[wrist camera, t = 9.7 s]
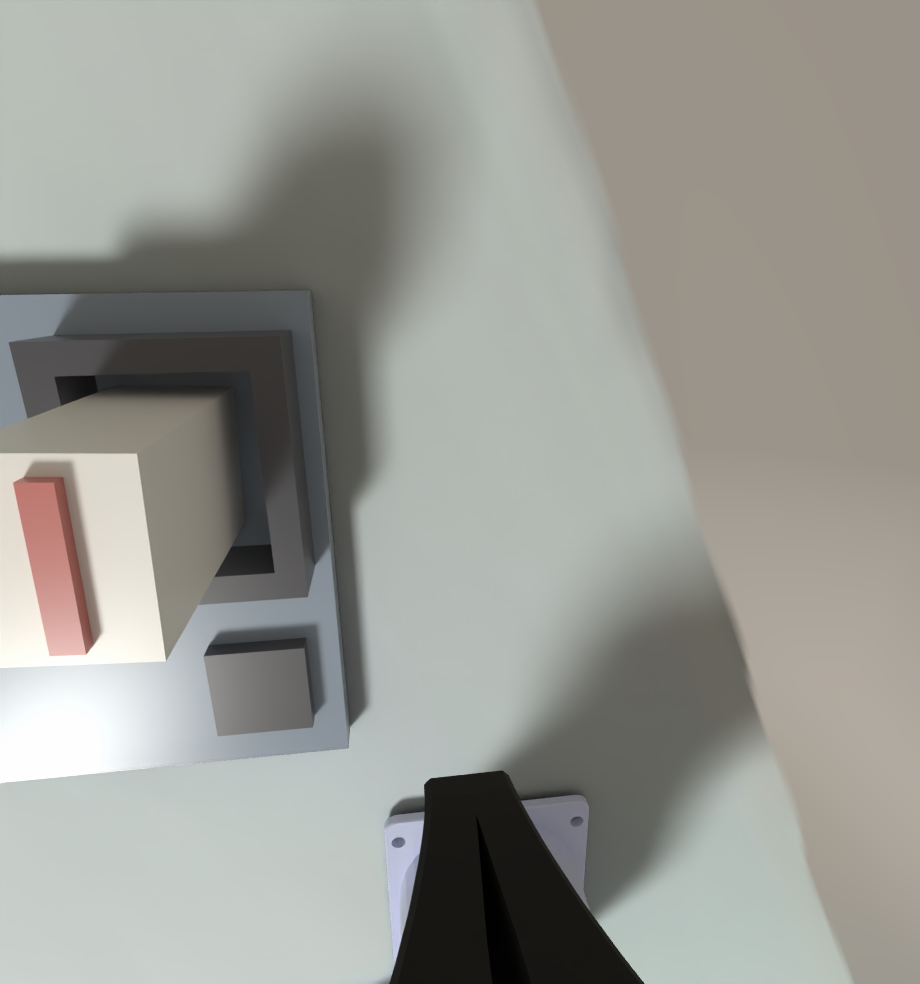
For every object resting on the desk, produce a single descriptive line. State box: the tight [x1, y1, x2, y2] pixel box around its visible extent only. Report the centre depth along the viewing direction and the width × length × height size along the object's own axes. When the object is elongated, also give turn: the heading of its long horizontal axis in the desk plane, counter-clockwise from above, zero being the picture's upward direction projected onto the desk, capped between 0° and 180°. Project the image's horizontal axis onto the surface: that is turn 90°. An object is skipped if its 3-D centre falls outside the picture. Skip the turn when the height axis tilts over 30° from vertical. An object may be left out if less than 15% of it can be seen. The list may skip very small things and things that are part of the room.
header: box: [9, 330, 315, 605], centre depth 16 cm, size 7×6×2 cm
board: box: [0, 290, 350, 783], centre depth 18 cm, size 15×12×2 cm
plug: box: [0, 385, 245, 668], centre depth 14 cm, size 4×3×7 cm
